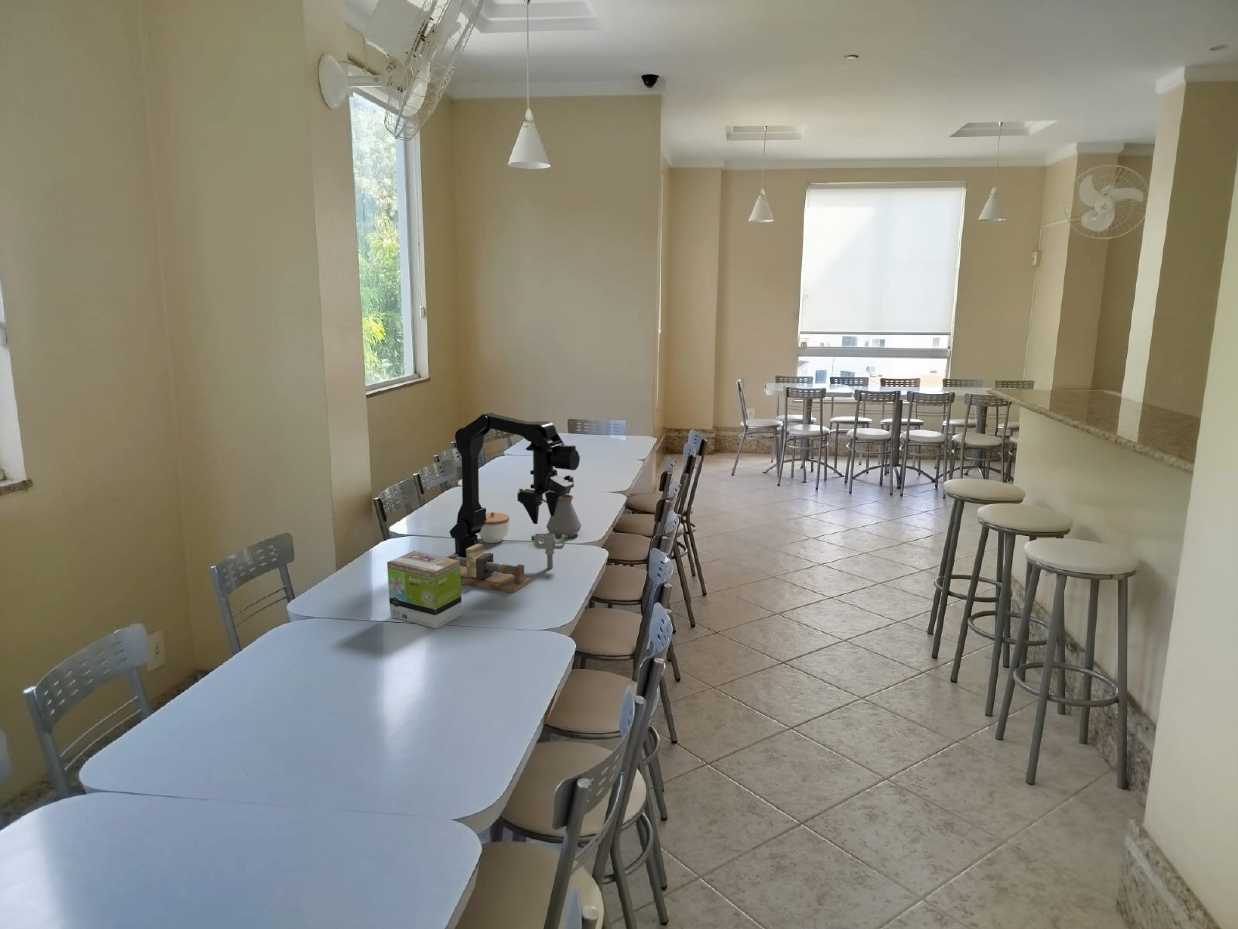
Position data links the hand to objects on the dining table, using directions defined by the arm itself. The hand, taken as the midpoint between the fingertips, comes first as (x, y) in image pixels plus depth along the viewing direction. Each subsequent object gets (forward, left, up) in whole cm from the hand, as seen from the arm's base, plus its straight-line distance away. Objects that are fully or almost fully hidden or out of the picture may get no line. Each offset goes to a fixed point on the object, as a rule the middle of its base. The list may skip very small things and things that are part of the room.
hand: (544, 519), depth 227 cm
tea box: (-9, -44, -15) cm, 47 cm away
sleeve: (-12, -16, -13) cm, 24 cm away
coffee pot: (-16, +30, -15) cm, 37 cm away
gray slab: (-9, -16, -13) cm, 23 cm away
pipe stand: (-9, -17, -15) cm, 24 cm away
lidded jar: (-29, +16, -15) cm, 36 cm away
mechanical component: (+1, 0, -15) cm, 15 cm away
